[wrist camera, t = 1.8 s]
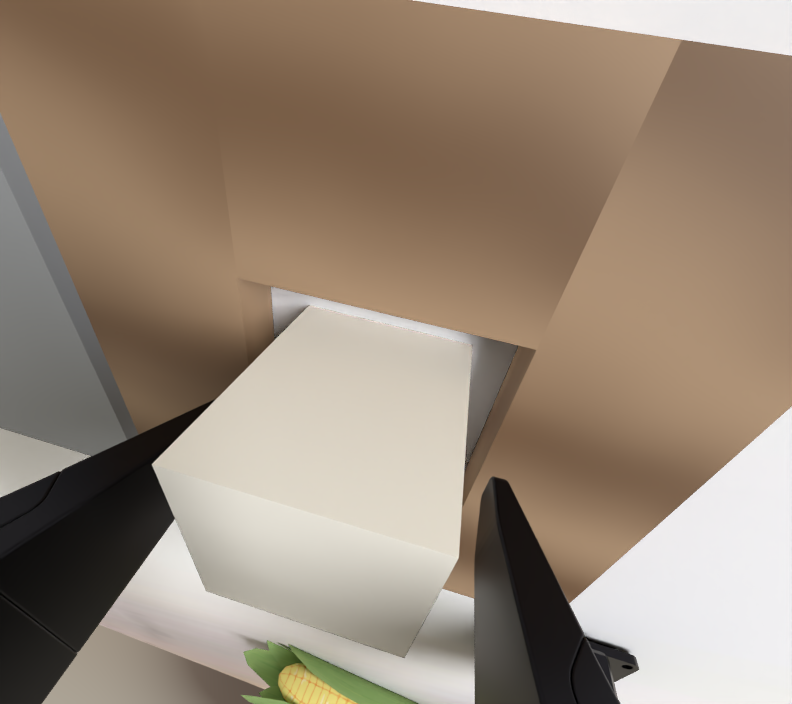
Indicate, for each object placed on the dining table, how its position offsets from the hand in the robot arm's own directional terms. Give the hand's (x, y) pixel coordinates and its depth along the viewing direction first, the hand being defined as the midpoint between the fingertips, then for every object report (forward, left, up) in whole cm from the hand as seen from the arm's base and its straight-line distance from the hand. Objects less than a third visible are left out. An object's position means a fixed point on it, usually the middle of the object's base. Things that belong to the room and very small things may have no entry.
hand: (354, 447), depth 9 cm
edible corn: (-35, -2, -3) cm, 35 cm away
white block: (0, 0, -3) cm, 3 cm away
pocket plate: (0, 0, -3) cm, 3 cm away
